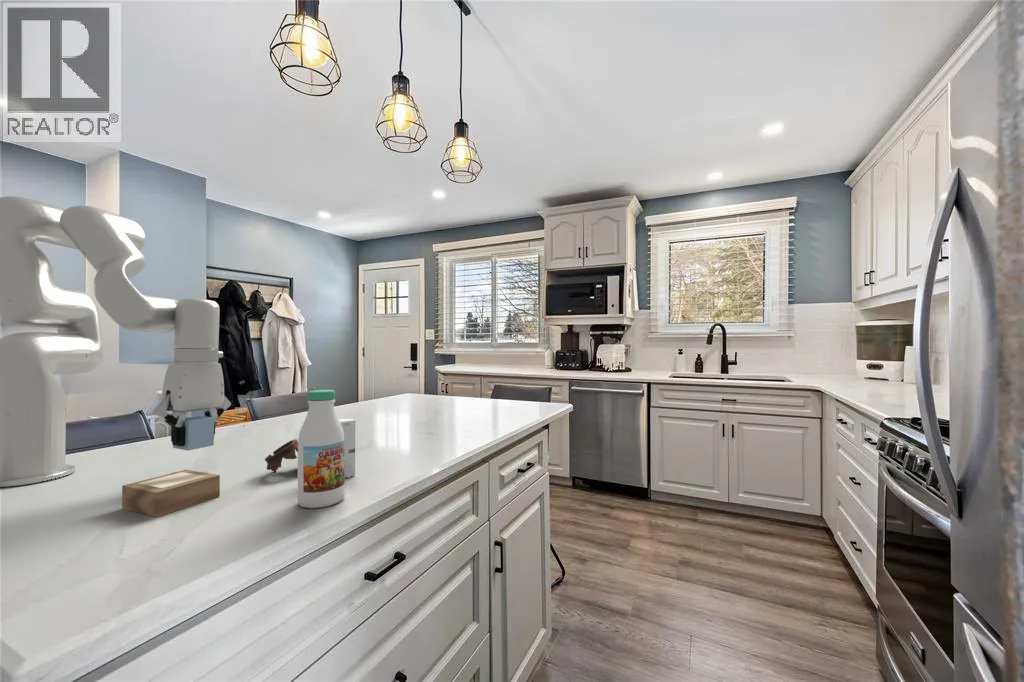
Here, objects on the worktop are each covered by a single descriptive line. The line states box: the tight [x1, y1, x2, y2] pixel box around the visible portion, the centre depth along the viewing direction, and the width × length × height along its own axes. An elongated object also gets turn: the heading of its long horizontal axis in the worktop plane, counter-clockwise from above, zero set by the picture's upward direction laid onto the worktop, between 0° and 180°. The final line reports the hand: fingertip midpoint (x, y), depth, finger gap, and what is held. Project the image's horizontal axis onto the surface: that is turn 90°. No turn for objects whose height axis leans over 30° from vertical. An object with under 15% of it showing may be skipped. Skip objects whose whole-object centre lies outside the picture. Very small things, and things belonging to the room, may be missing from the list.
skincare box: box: [338, 417, 356, 478], centre depth 88 cm, size 6×4×12 cm
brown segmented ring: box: [264, 438, 298, 472], centre depth 93 cm, size 12×10×8 cm
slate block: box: [172, 415, 215, 452], centre depth 87 cm, size 5×5×6 cm
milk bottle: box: [297, 389, 346, 509], centre depth 74 cm, size 8×8×20 cm
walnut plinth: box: [121, 469, 221, 518], centre depth 74 cm, size 10×10×4 cm
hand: (193, 441), depth 87 cm, fingers closed on slate block, 5 cm apart
